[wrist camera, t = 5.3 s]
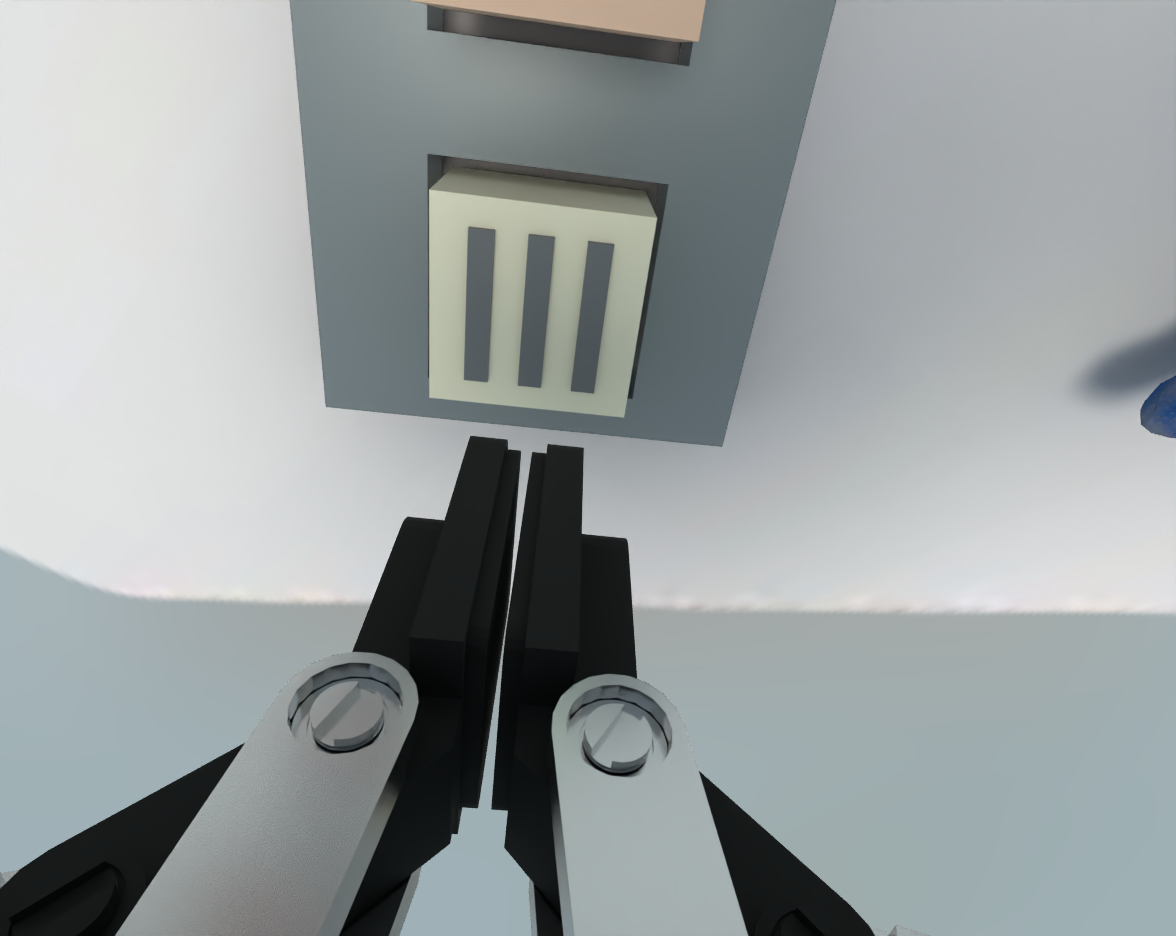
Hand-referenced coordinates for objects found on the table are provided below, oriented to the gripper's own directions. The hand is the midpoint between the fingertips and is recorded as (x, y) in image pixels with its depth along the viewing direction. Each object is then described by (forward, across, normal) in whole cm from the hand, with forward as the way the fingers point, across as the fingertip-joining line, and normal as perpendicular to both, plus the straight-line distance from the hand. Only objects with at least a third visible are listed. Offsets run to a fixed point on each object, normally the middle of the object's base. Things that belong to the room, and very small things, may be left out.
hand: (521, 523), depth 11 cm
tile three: (+15, +1, +1) cm, 15 cm away
